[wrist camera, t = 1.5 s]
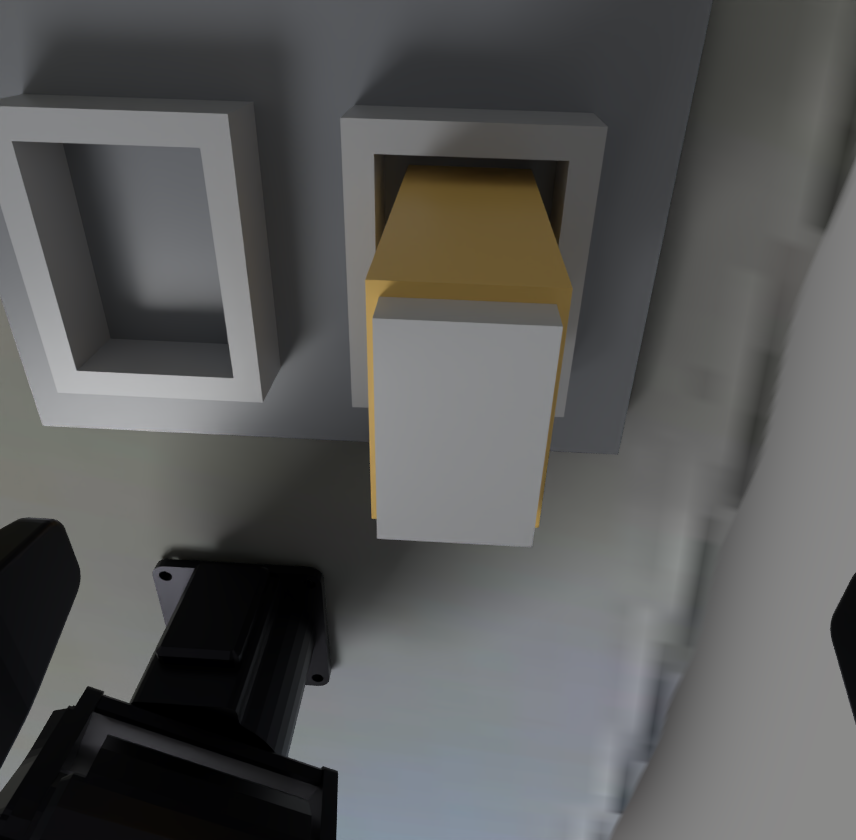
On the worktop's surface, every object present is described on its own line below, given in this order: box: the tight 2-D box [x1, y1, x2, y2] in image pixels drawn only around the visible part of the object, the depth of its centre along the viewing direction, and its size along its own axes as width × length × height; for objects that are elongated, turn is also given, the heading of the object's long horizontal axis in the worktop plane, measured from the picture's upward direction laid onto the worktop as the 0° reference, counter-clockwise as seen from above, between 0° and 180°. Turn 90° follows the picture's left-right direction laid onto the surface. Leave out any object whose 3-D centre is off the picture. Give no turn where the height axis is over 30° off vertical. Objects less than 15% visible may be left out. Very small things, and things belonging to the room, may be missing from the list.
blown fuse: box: [365, 165, 573, 547], centre depth 14 cm, size 3×4×9 cm, turn 179°
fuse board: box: [0, 0, 713, 454], centre depth 18 cm, size 12×18×4 cm, turn 89°
